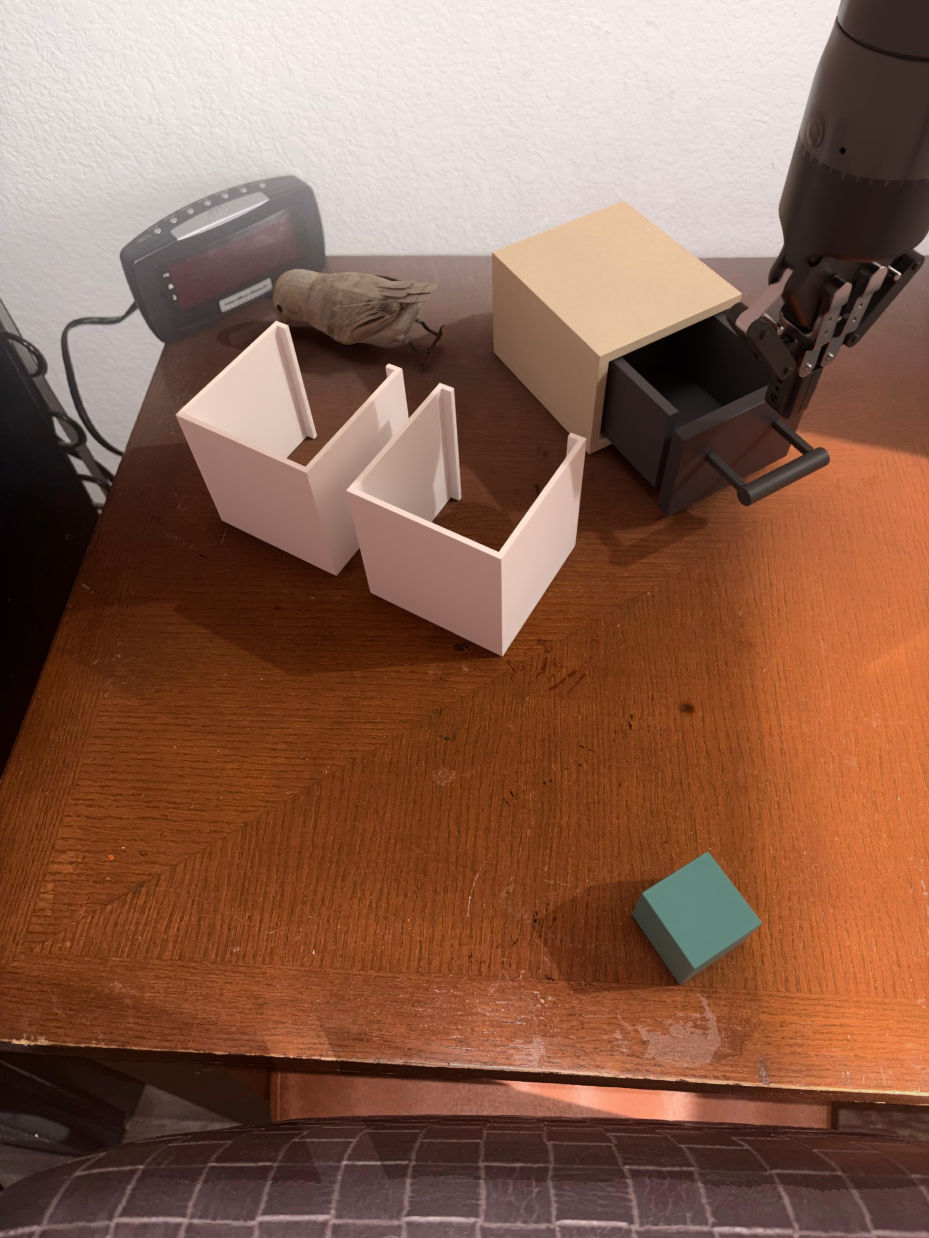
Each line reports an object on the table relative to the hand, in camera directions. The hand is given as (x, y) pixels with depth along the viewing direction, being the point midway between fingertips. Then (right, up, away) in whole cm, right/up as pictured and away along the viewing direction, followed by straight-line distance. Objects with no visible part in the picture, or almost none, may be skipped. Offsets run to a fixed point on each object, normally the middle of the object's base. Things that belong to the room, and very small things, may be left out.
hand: (785, 407), depth 55 cm
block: (-8, -31, -7) cm, 33 cm away
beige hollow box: (-9, +8, +18) cm, 22 cm away
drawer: (-3, -1, +12) cm, 12 cm away
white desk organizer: (-26, -7, +10) cm, 29 cm away
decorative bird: (-30, +11, +22) cm, 39 cm away
